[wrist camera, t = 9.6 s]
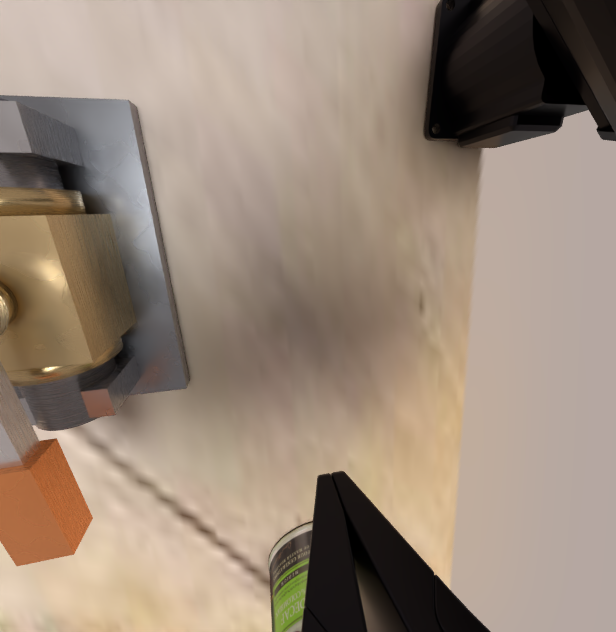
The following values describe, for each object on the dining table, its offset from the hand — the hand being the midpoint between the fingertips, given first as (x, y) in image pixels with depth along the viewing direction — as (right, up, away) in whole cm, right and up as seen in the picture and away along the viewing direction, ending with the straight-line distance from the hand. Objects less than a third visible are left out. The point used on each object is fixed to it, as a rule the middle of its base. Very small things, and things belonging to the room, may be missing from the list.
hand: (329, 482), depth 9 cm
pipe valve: (-14, +8, +7) cm, 18 cm away
